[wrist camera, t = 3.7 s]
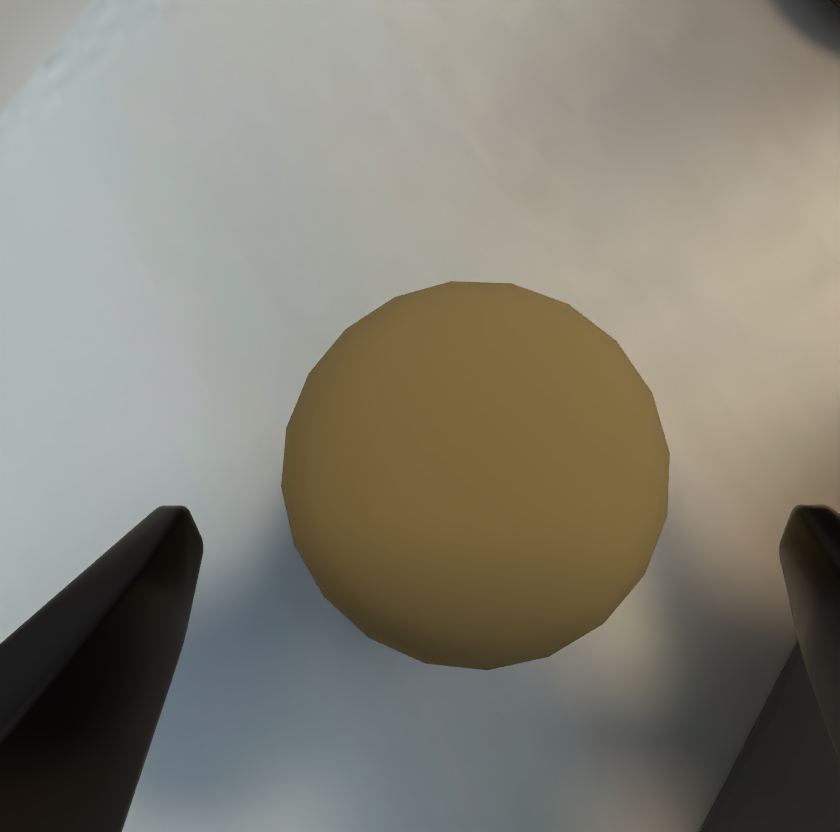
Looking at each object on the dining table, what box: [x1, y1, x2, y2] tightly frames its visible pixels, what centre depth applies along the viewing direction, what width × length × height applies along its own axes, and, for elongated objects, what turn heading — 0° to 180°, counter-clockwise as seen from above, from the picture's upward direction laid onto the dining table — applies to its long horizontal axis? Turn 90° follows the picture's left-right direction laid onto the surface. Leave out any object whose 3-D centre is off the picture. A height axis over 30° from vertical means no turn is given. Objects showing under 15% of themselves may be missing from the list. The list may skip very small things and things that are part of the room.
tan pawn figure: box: [281, 282, 670, 670], centre depth 13 cm, size 6×6×11 cm
